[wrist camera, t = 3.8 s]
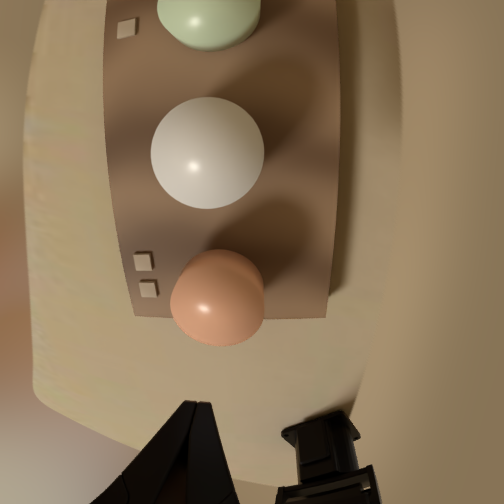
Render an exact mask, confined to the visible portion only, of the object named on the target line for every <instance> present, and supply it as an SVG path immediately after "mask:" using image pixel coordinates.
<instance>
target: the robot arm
mask: <svg viewBox="0 0 504 504" xmlns="http://www.w3.org/2000/svg"><path fill="white" fill-rule="evenodd" d="M281 436H282V437H283V438H284V439H285V440H286V441H287V442H288V443H290V444H291V445H292V446H293V447H294V448H295V450H296V462H297V475H298V485H293V486H288V487H285V486H283V487H278V493H277V495H276V501H275V504H382V500H381V496H380V491H379V487H378V483H377V479H376V475H375V472H374V469H373V466H372V465H368V466H366V467H365V468H362V469H359V466H358V461H357V456H356V452H355V447H354V443H353V441H356V440H358V439H360V438H361V437H360V433H359V432H358V430H357V429H356V428H355V426H354V425H353V423H352V422H351V421H350V419H349V418H348V417H347V415H346V414H345V412H344V411H337V412H334V413H332V414H329V415H326V416H324V417H321V418H318V419H316V420H313V421H310V422H307V423H304V424H301V425H298V426H295V427H292V428H289V429H286V430H283V431H282V432H281ZM369 486H370V489H366V490H364V489H363V488H366V487H369ZM90 504H240V503H239V500H238V497H237V494H236V492H235V488H234V484H233V481H232V478H231V475H230V471H229V468H228V464H227V461H226V457H225V454H224V450H223V447H222V443H221V439H220V436H219V432H218V428H217V424H216V421H215V417H214V413H213V409H212V405H211V403H210V402H202V401H200V402H197V401H189V400H185V401H184V402H183V403H182V404H181V405H180V406H179V407H178V409H177V410H176V411H175V412H174V413H173V414H172V416H171V417H170V418H169V419H168V420H167V422H166V423H165V424H164V425H163V426H162V427H161V429H160V430H159V431H158V432H157V433H156V434H155V436H154V437H153V438H152V439H151V440H150V441H149V442H148V444H147V445H146V446H145V447H144V448H143V449H142V450H141V452H140V453H139V454H138V455H137V456H136V457H135V459H134V460H133V461H132V462H131V463H130V464H129V465H128V466H127V467H126V469H125V470H124V471H123V472H122V475H119V476H118V477H117V478H116V479H115V481H114V482H113V483H112V484H111V485H110V486H109V487H108V488H107V489H106V490H105V491H104V492H103V493H101V494H100V495H99V496H98V497H97V498H96V499H95V500H93V501H92V502H91V503H90Z"/></svg>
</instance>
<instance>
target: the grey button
mask: <svg viewBox="0 0 504 504" xmlns="http://www.w3.org/2000/svg"><path fill="white" fill-rule="evenodd" d="M263 161H264V144H263V139H262V136H261V133H260V130H259V128H258V126H257V124H256V123H255V121H254V120H253V118H252V117H251V116H250V115H249V114H248V113H247V112H246V111H245V110H243V109H242V108H241V107H240V106H238V105H236V104H234V103H232V102H230V101H228V100H225V99H221V98H215V97H201V98H195V99H191V100H188V101H186V102H183V103H181V104H180V105H178V106H176V107H175V108H174V109H172V110H171V111H170V112H169V113H168V114H167V115H166V116H165V117H164V118H163V119H162V121H161V122H160V124H159V125H158V127H157V129H156V131H155V134H154V136H153V140H152V145H151V162H152V167H153V170H154V173H155V175H156V178H157V180H158V181H159V183H160V185H161V186H162V187H163V189H164V190H165V191H166V192H167V193H168V194H169V195H170V196H172V197H173V198H174V199H176V200H177V201H179V202H181V203H183V204H185V205H188V206H191V207H194V208H201V209H213V208H219V207H223V206H226V205H229V204H231V203H233V202H235V201H237V200H238V199H240V198H241V197H243V196H244V195H245V194H246V193H247V192H248V191H249V190H250V189H251V188H252V187H253V185H254V184H255V182H256V181H257V179H258V177H259V175H260V172H261V169H262V166H263Z"/></svg>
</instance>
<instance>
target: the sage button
mask: <svg viewBox="0 0 504 504" xmlns="http://www.w3.org/2000/svg"><path fill="white" fill-rule="evenodd" d="M260 3H261V0H158V3H157V12H158V16H159V19H160V21H161V23H162V24H163V26H164V27H165V28H166V29H167V30H168V31H169V32H170V33H171V34H172V35H173V36H174V37H175V38H176V39H177V40H178V41H180V42H181V43H182V44H183V45H185V46H187V47H189V48H191V49H194V50H197V51H203V52H216V51H222V50H226V49H229V48H232V47H234V46H236V45H238V44H240V43H241V42H243V41H244V40H245V39H247V38H248V37H249V36H250V35H251V34H252V32H253V31H254V30H255V28H256V26H257V24H258V22H259V18H260Z"/></svg>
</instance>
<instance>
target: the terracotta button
mask: <svg viewBox="0 0 504 504" xmlns="http://www.w3.org/2000/svg"><path fill="white" fill-rule="evenodd" d="M170 308H171V313H172V316H173V318H174V320H175V322H176V324H177V325H178V326H179V327H180V329H181V330H182V331H183V332H184V333H186V334H187V335H188V336H190V337H191V338H193V339H195V340H197V341H199V342H201V343H204V344H208V345H213V346H230V345H235V344H238V343H241V342H243V341H245V340H247V339H248V338H250V337H251V336H252V335H254V334H255V333H256V331H257V330H258V329H259V327H260V326H261V324H262V321H263V318H264V311H265V310H264V284H263V279H262V276H261V274H260V272H259V270H258V269H257V267H256V266H255V265H254V264H253V263H252V262H251V261H250V260H249V259H247V258H246V257H244V256H243V255H241V254H238V253H236V252H233V251H229V250H223V249H215V250H208V251H205V252H202V253H200V254H198V255H196V256H194V257H193V258H192V259H190V260H189V261H188V262H187V264H186V265H185V266H184V268H183V270H182V272H181V274H180V276H179V278H178V281H177V283H176V285H175V287H174V289H173V292H172V294H171V299H170Z"/></svg>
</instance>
